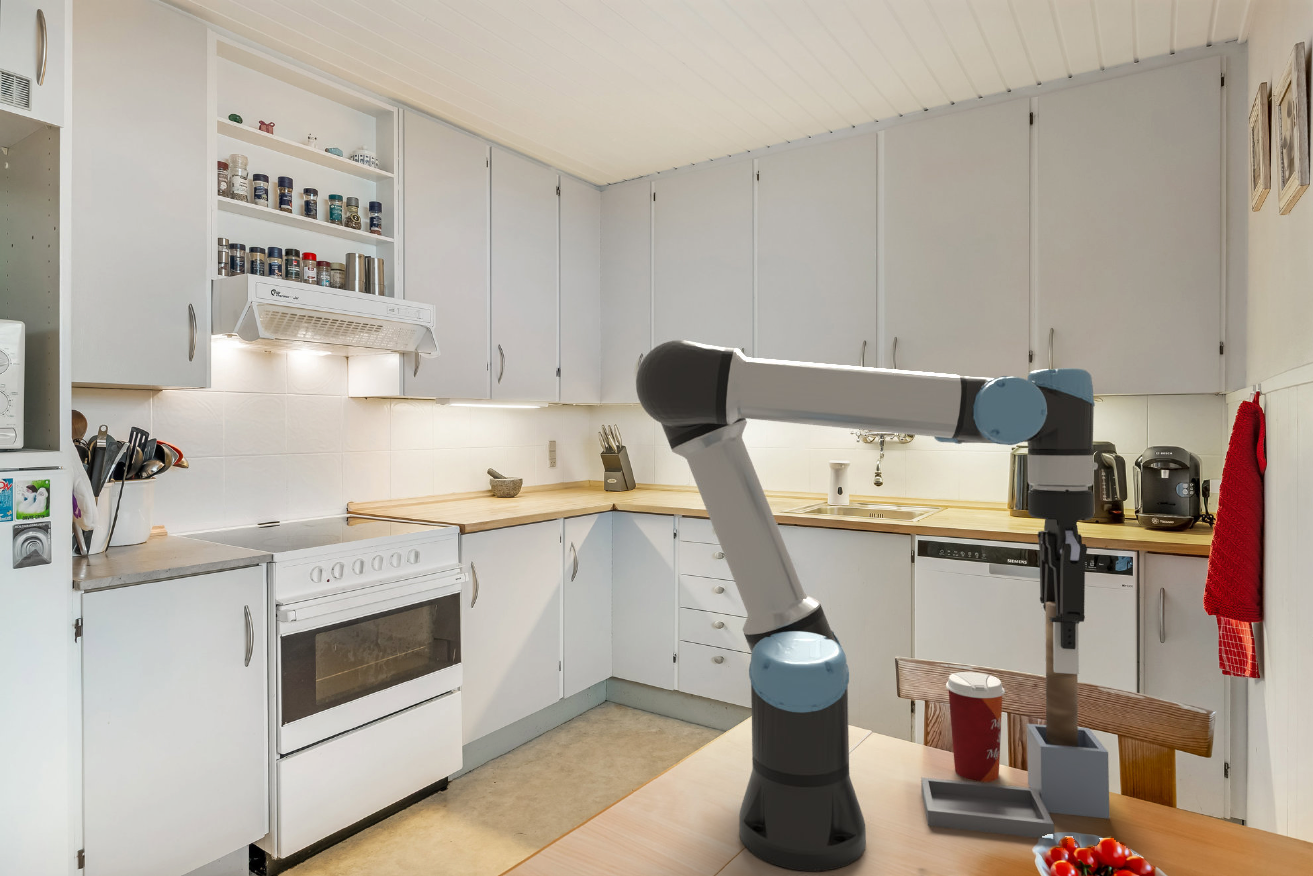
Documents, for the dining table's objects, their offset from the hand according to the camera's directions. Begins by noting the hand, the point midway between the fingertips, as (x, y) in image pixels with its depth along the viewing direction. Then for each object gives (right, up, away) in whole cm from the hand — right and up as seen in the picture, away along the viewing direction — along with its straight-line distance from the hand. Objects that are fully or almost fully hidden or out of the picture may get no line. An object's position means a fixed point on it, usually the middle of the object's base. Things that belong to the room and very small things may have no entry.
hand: (1061, 667), depth 95 cm
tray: (-12, -18, -3) cm, 22 cm away
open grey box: (+1, -18, 0) cm, 18 cm away
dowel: (0, -10, 0) cm, 10 cm away
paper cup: (-7, -18, +8) cm, 22 cm away
